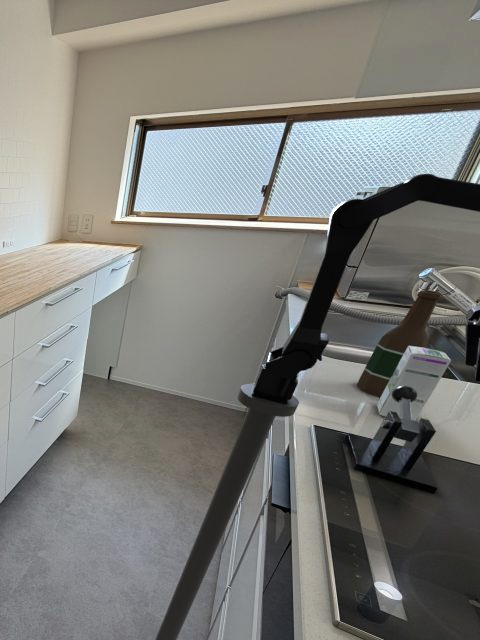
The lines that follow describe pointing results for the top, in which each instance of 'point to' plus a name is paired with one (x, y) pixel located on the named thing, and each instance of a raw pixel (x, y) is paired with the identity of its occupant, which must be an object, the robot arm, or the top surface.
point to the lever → (406, 413)
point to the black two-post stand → (394, 454)
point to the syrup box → (414, 378)
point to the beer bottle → (398, 344)
